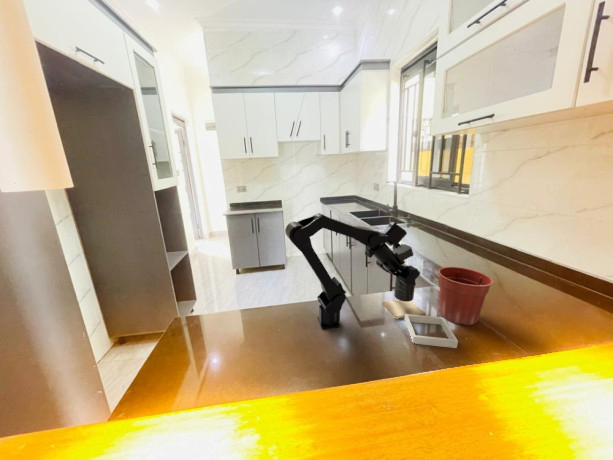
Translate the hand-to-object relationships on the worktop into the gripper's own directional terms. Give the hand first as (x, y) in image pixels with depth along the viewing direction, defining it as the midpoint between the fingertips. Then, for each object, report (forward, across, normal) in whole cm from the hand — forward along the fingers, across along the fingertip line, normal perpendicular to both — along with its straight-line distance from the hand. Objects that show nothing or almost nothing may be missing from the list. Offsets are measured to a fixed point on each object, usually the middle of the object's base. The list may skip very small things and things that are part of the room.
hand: (408, 281), depth 93 cm
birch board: (+8, 0, +9) cm, 12 cm away
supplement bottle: (+4, 0, +6) cm, 7 cm away
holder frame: (+7, -14, +10) cm, 18 cm away
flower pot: (+20, -9, -3) cm, 22 cm away
